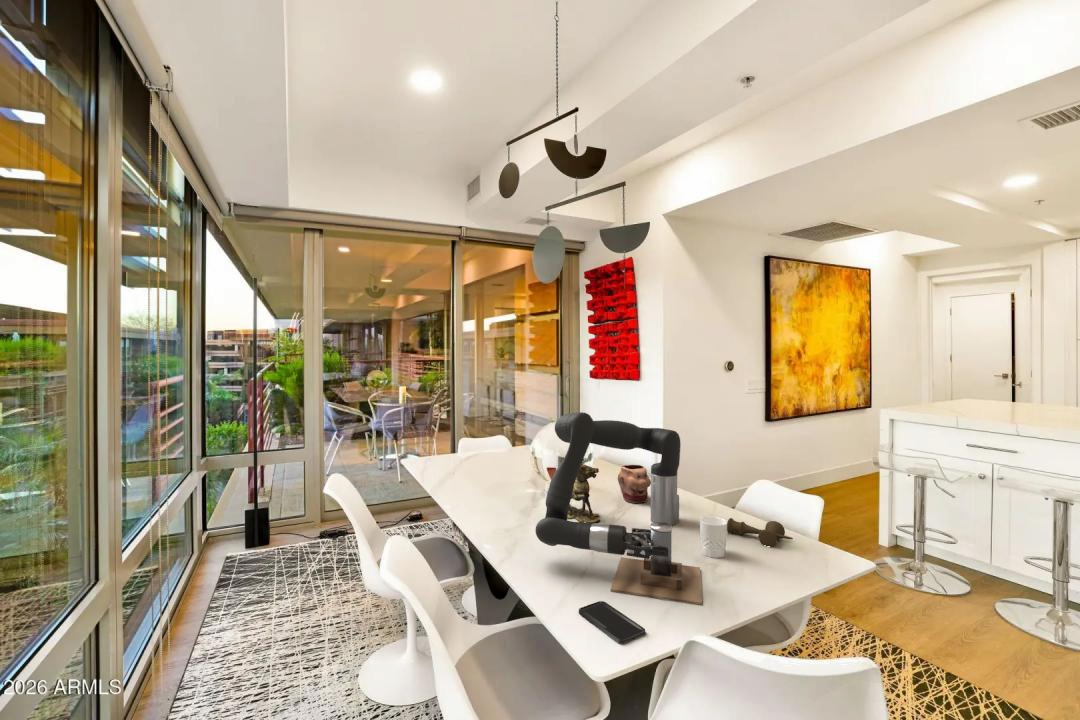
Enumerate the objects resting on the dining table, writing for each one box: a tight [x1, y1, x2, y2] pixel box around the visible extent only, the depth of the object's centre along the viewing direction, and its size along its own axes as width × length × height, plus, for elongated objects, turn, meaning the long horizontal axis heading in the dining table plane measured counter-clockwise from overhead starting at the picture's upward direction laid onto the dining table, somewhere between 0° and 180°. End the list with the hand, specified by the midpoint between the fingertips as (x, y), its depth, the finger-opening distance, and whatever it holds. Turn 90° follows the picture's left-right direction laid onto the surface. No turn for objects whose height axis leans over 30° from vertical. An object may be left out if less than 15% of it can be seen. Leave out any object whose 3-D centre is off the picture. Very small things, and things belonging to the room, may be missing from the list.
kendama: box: [727, 517, 794, 548], centre depth 156 cm, size 6×10×20 cm
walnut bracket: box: [610, 556, 703, 606], centre depth 127 cm, size 22×20×3 cm
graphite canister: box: [650, 522, 673, 577], centre depth 127 cm, size 6×6×14 cm
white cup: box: [699, 515, 728, 559], centre depth 145 cm, size 8×8×10 cm
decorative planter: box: [617, 464, 651, 504], centre depth 198 cm, size 20×12×14 cm, turn 22°
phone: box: [578, 600, 646, 645], centre depth 107 cm, size 8×1×15 cm
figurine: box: [559, 456, 601, 524], centre depth 180 cm, size 13×25×20 cm, turn 32°
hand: (669, 545), depth 126 cm, fingers open, 8 cm apart
